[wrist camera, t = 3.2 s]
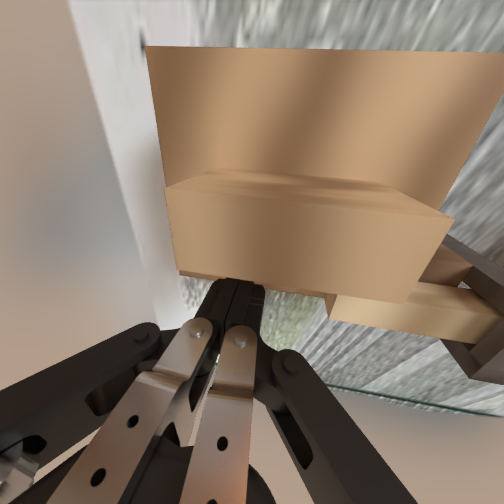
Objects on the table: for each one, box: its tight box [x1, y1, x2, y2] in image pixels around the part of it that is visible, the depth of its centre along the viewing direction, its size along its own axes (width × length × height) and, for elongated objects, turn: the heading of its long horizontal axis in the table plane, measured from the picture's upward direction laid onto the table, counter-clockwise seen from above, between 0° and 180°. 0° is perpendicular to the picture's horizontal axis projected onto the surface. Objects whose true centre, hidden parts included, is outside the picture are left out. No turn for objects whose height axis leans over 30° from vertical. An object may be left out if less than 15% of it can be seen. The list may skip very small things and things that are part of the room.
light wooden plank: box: [324, 282, 504, 344], centre depth 11 cm, size 10×2×2 cm, turn 86°
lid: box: [145, 46, 504, 305], centre depth 10 cm, size 14×12×8 cm
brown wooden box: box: [417, 234, 504, 385], centre depth 13 cm, size 18×13×13 cm
